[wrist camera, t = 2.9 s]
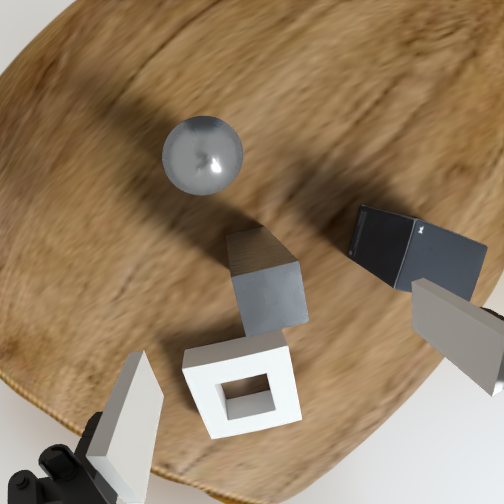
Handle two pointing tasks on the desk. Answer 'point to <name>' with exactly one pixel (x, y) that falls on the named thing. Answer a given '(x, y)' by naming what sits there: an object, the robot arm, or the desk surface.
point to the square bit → (265, 282)
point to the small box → (415, 252)
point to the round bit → (202, 155)
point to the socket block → (238, 367)
